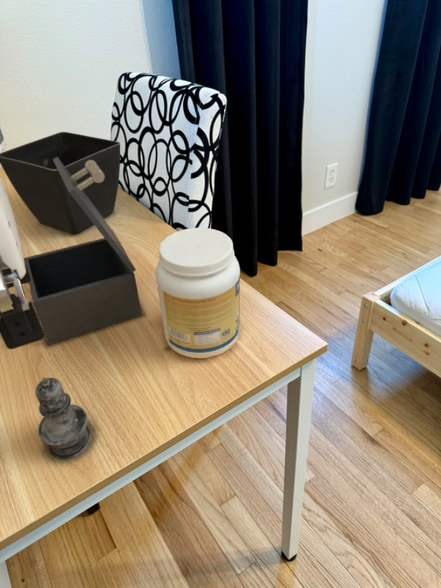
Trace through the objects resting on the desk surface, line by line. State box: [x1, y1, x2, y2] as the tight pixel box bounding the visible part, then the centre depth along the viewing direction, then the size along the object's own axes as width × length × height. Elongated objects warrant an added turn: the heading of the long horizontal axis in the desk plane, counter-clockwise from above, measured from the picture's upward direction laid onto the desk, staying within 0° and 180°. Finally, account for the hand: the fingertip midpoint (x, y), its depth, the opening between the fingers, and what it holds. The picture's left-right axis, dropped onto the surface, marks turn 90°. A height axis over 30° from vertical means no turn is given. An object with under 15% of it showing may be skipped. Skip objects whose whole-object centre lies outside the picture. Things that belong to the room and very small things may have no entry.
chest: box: [23, 237, 143, 346], centre depth 73 cm, size 16×14×9 cm
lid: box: [53, 157, 137, 273], centre depth 67 cm, size 16×14×5 cm
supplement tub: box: [155, 227, 241, 359], centre depth 65 cm, size 12×12×17 cm
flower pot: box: [0, 131, 121, 235], centre depth 98 cm, size 19×19×17 cm
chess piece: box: [34, 377, 92, 460], centre depth 51 cm, size 6×6×12 cm
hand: (20, 311), depth 42 cm, fingers open, 9 cm apart
